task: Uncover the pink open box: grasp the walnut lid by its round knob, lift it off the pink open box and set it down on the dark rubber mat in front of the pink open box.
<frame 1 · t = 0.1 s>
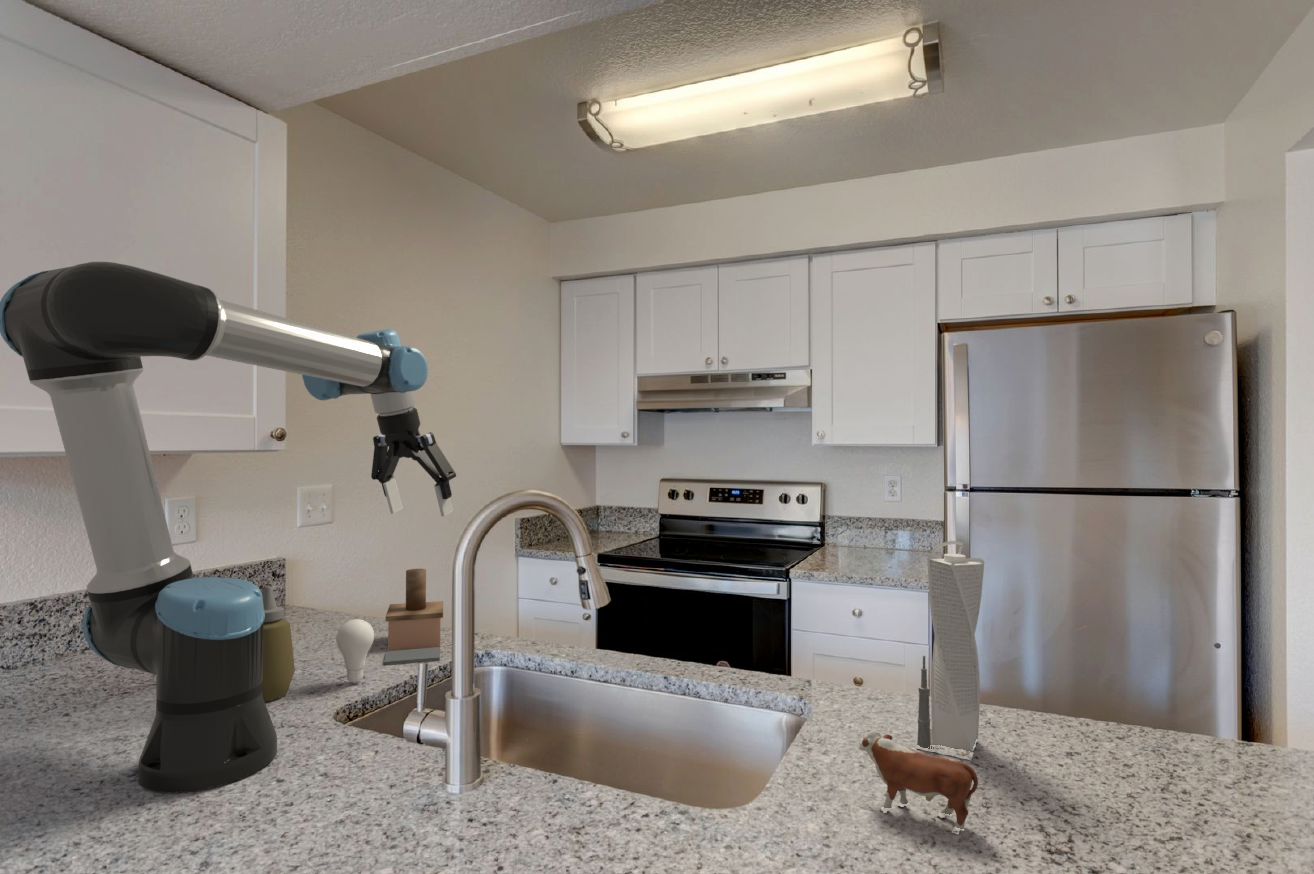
hand: (421, 512, 140), 28 cm above the countertop, tool tilted 20°, fingers open, 13 cm apart
lid: (415, 613, 146), point 6 cm above the countertop, touching pink open box
pink open box: (415, 641, 146), on the countertop
skyscraper: (952, 745, 97), on the countertop
squeeze bottle: (267, 697, 114), on the countertop
bull figurine: (913, 815, 79), on the countertop
mat: (413, 657, 136), on the countertop
lightbulb: (354, 684, 121), on the countertop
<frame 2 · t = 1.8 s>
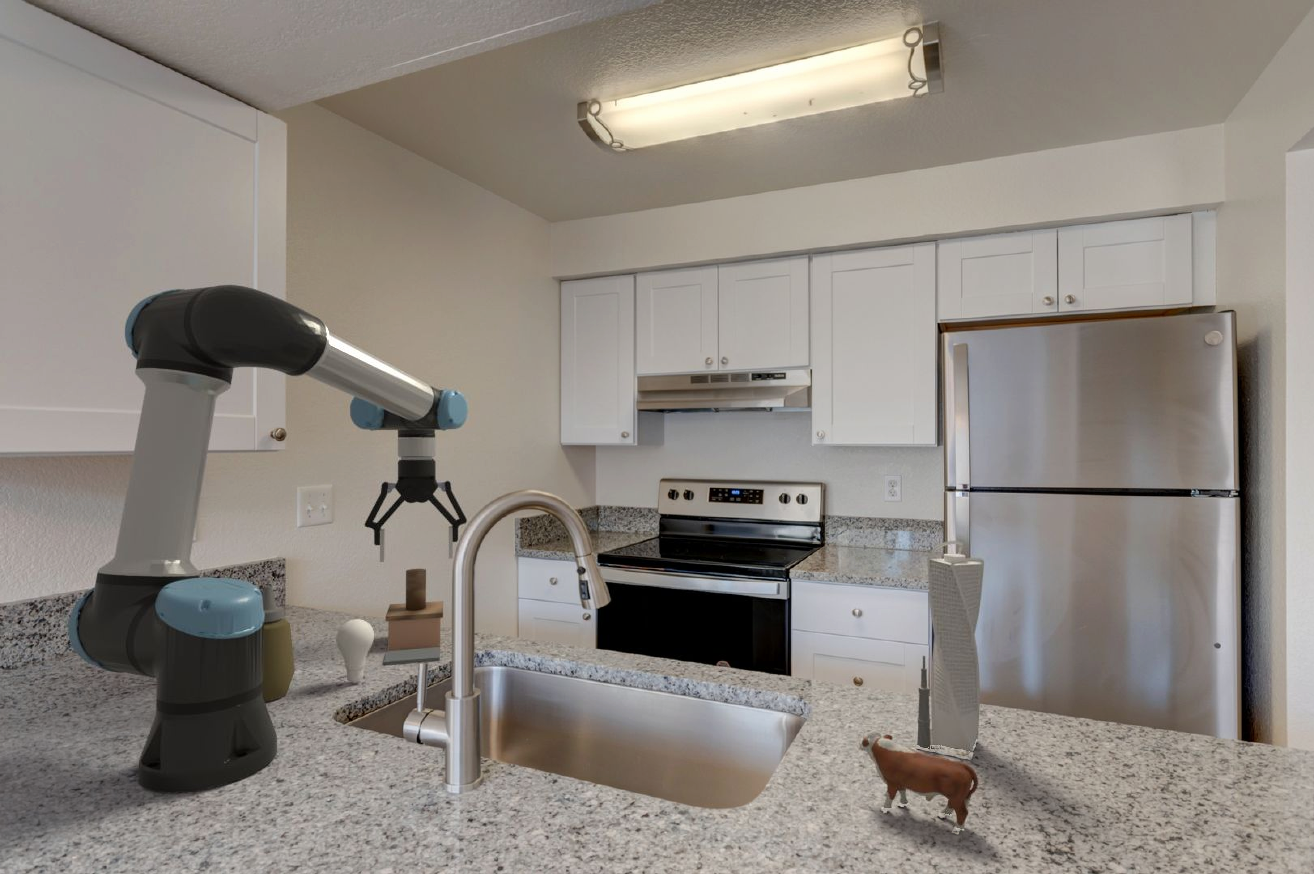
hand: (417, 559, 147), 17 cm above the countertop, tool pointing down, fingers open, 13 cm apart
nothing on the countertop moved.
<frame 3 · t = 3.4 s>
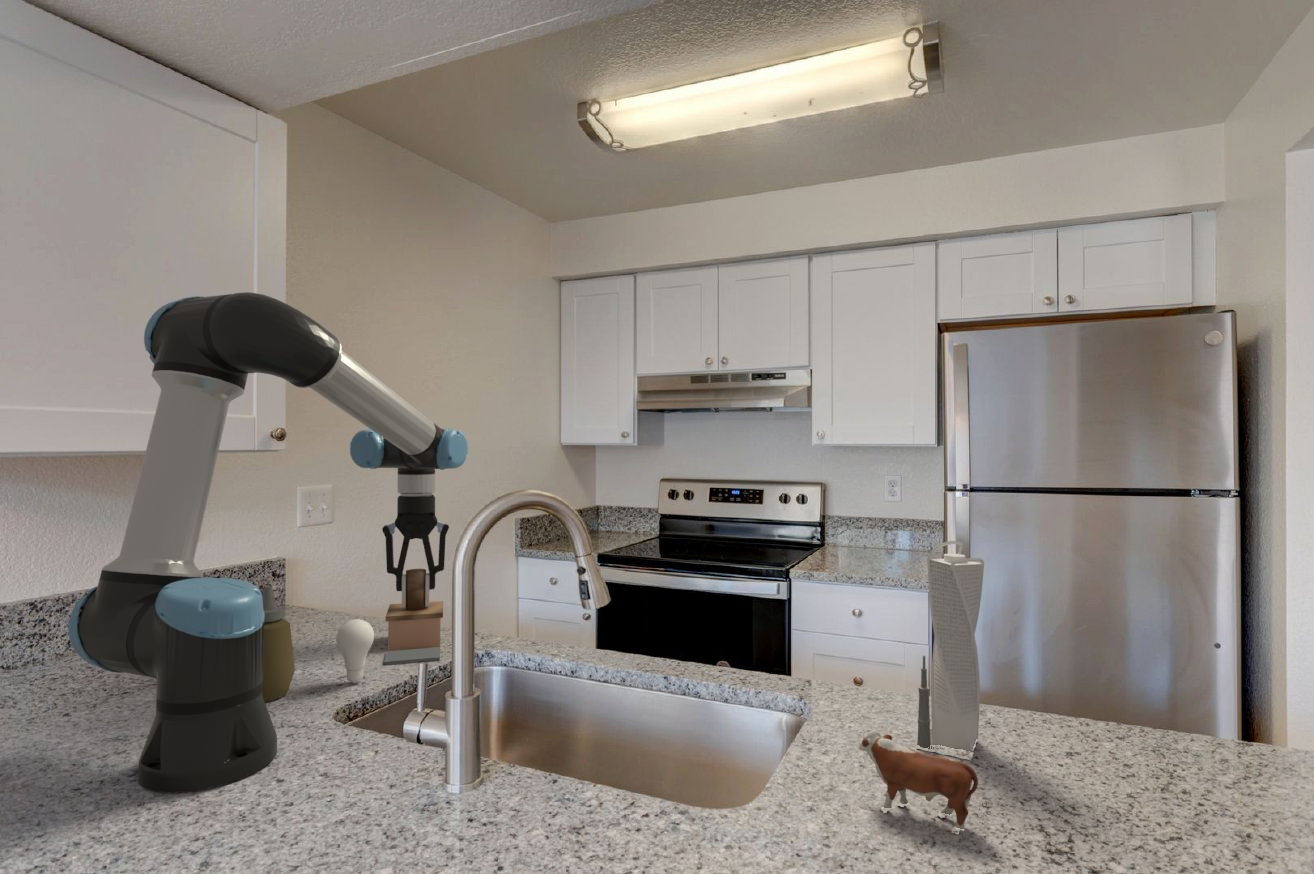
hand: (415, 605, 146), 8 cm above the countertop, tool pointing down, fingers closed on lid, 4 cm apart
lid: (415, 613, 146), point 6 cm above the countertop, touching pink open box, gripper
everything else where it was.
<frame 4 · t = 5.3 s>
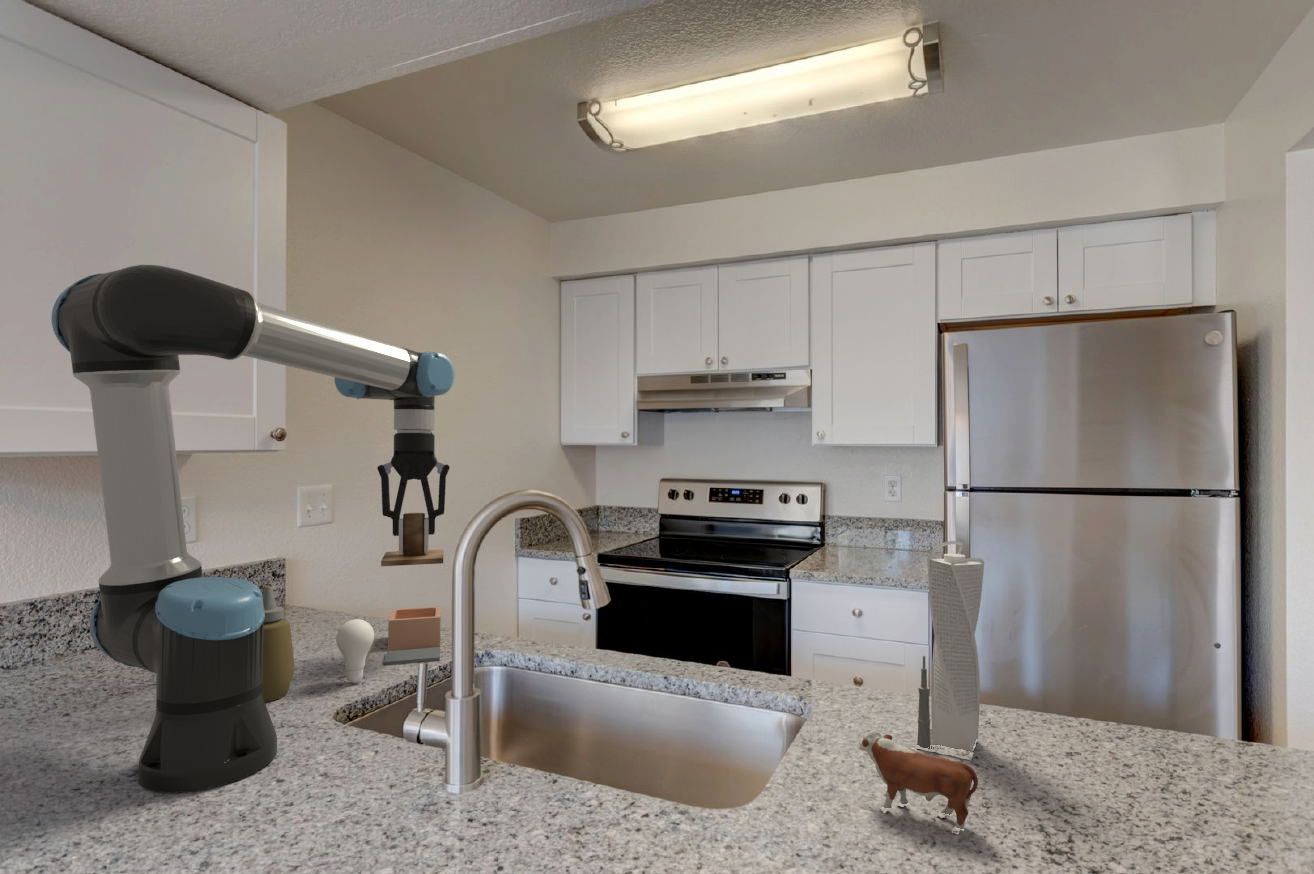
hand: (413, 551, 135), 21 cm above the countertop, tool pointing down, fingers closed on lid, 4 cm apart
lid: (413, 559, 135), point 19 cm above the countertop, touching gripper
everything else where it was.
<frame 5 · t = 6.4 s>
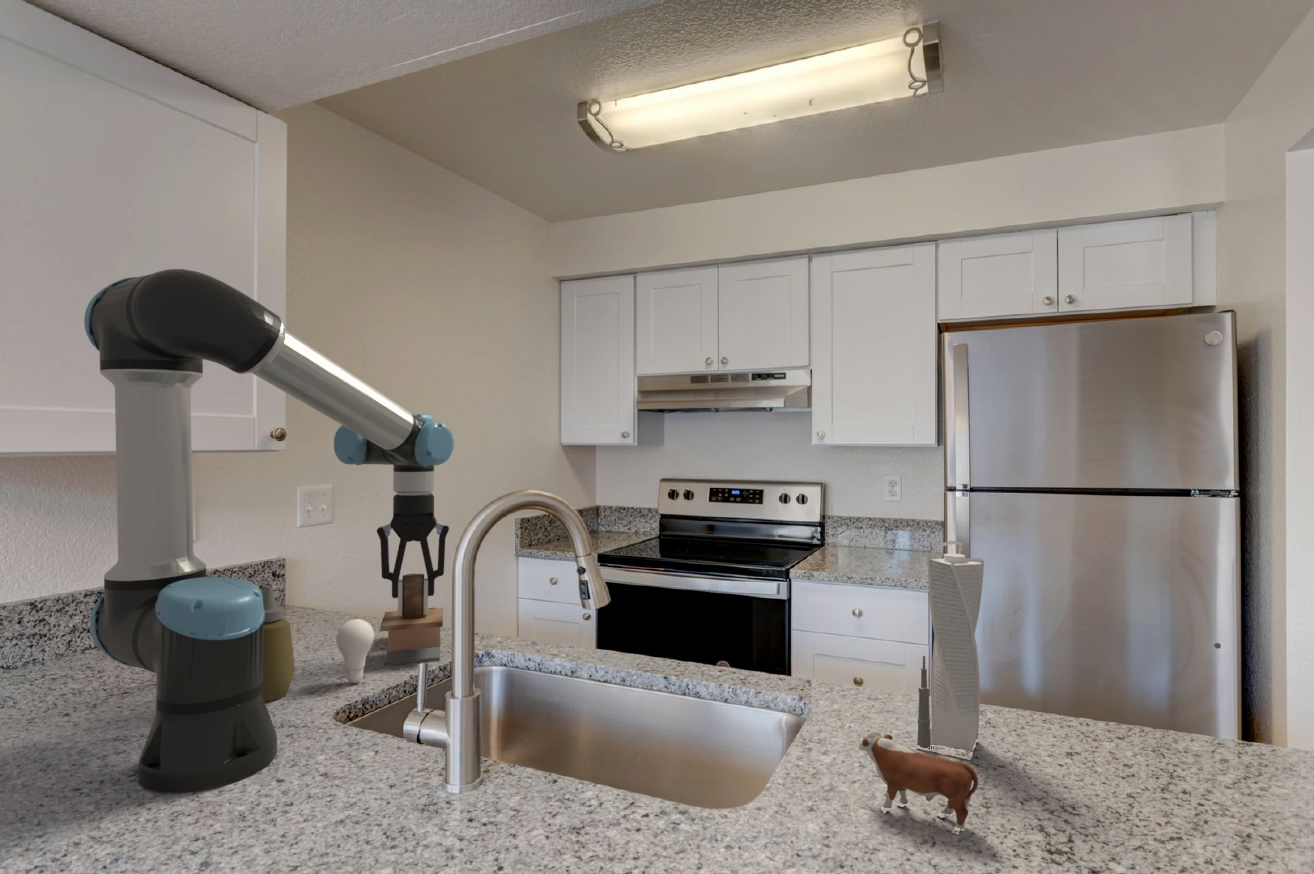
hand: (413, 613, 135), 9 cm above the countertop, tool pointing down, fingers closed on lid, 4 cm apart
lid: (413, 621, 135), point 7 cm above the countertop, touching gripper
everything else where it was.
when the fingers open (4 cm above the countertop, at t = 7.5 s): lid drops 2 cm, resting on mat.
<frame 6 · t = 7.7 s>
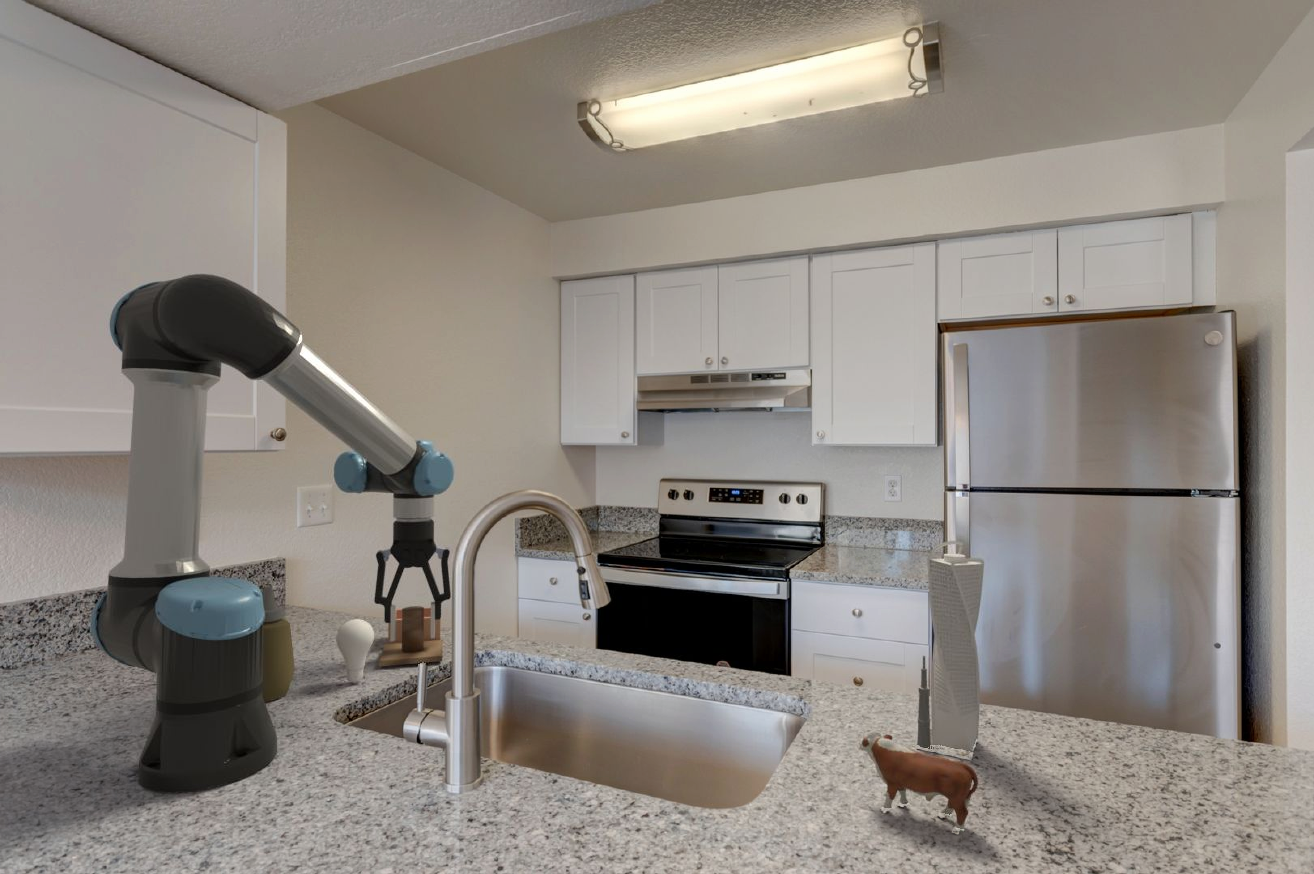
hand: (413, 637, 135), 4 cm above the countertop, tool pointing down, fingers open, 7 cm apart
lid: (412, 654, 135), point 1 cm above the countertop, touching mat
everything else where it was.
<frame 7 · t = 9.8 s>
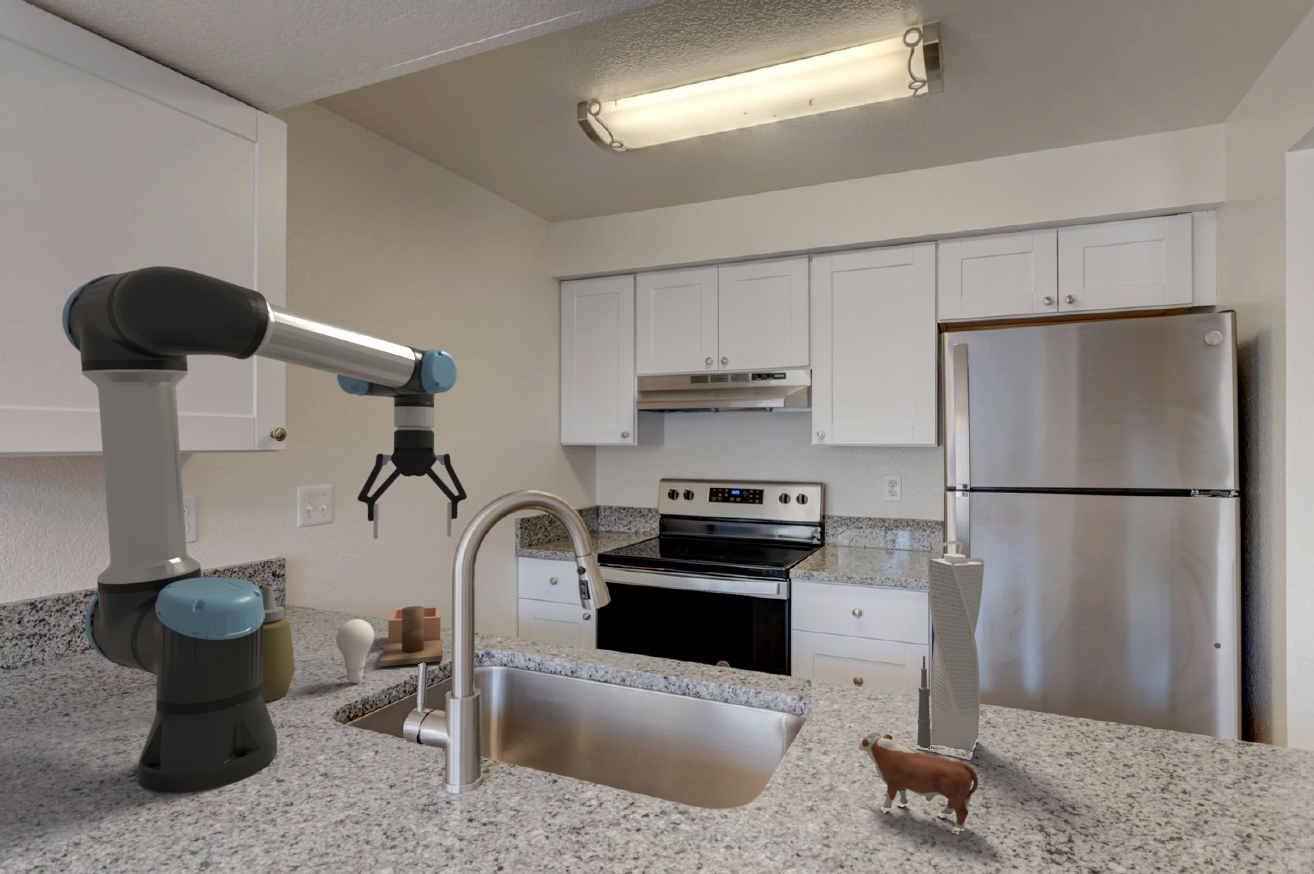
hand: (413, 536, 137), 23 cm above the countertop, tool pointing down, fingers open, 13 cm apart
nothing on the countertop moved.
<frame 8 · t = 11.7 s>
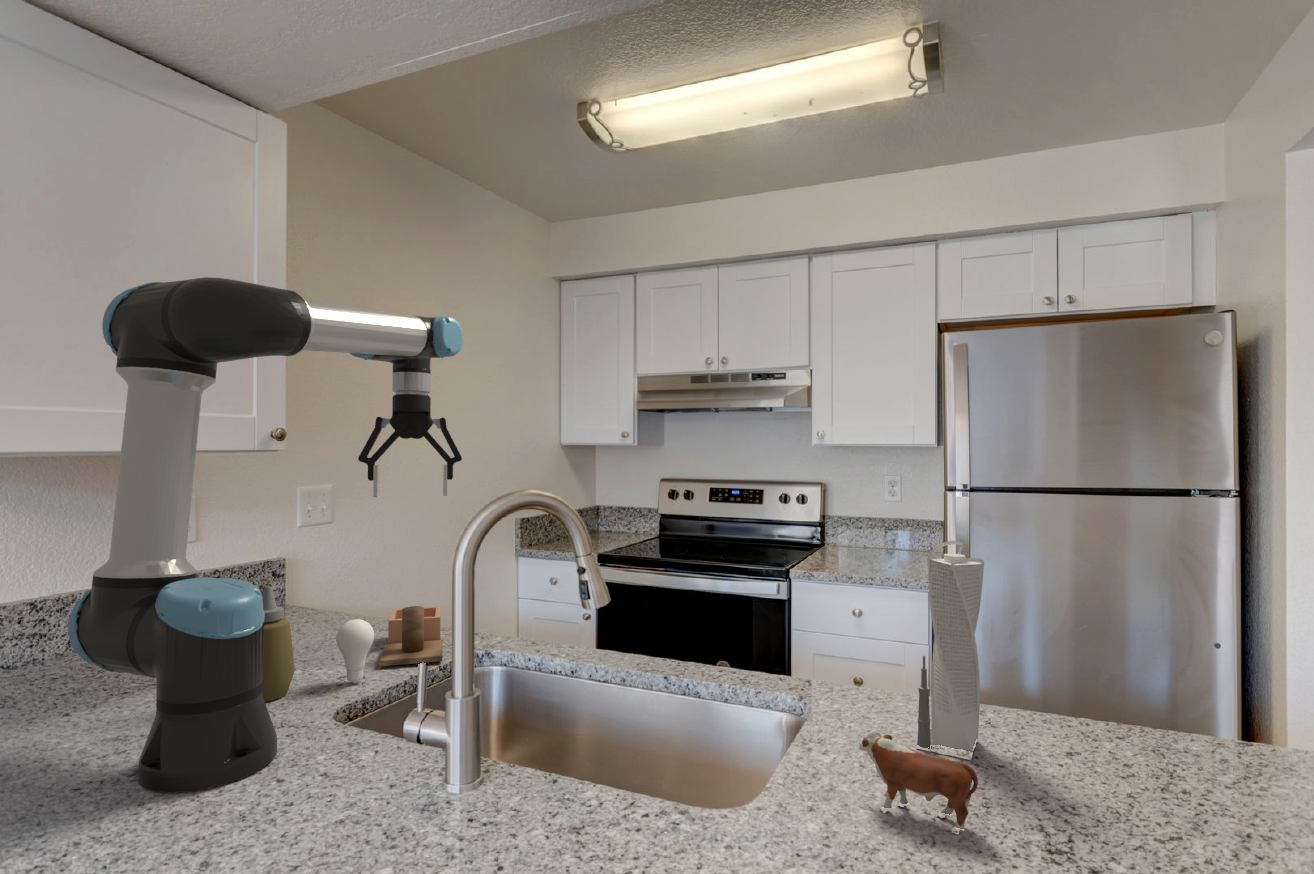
hand: (411, 496, 145), 31 cm above the countertop, tool pointing down, fingers open, 13 cm apart
nothing on the countertop moved.
at the end: lid inside the target area on the mat (0.2 cm from its centre), point 0.6 cm above the mat's base; lid touching mat; lid tilted 0° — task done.
